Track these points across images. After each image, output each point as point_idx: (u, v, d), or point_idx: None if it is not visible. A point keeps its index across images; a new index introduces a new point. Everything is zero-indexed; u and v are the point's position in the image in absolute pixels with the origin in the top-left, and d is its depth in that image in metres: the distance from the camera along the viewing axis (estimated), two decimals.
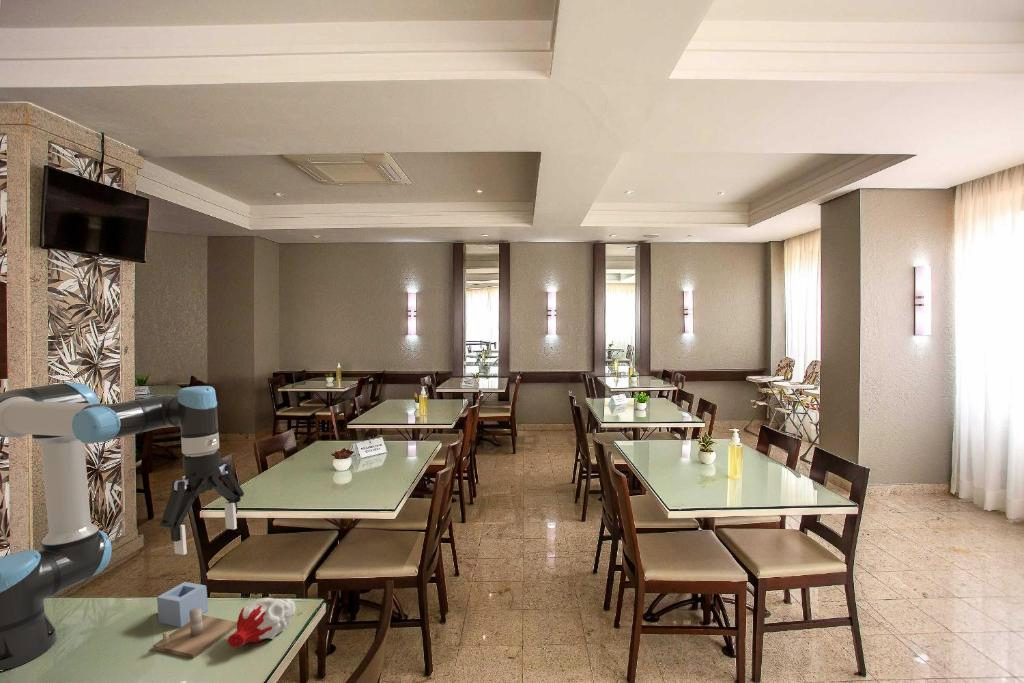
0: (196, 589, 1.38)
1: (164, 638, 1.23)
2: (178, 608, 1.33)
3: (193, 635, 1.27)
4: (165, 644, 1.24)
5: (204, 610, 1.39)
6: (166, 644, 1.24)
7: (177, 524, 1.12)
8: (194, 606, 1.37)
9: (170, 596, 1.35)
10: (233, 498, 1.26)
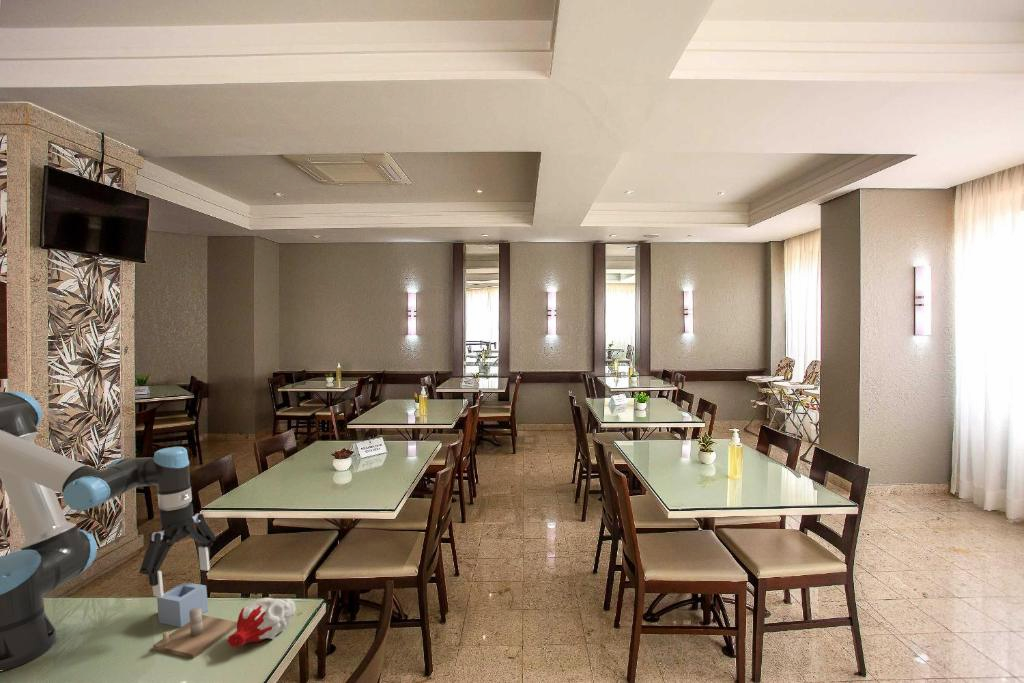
0: (196, 589, 1.38)
1: (164, 638, 1.23)
2: (178, 608, 1.33)
3: (193, 635, 1.27)
4: (165, 644, 1.24)
5: (204, 610, 1.39)
6: (166, 644, 1.24)
7: (154, 571, 1.29)
8: (194, 606, 1.37)
9: (170, 596, 1.35)
10: (206, 543, 1.43)
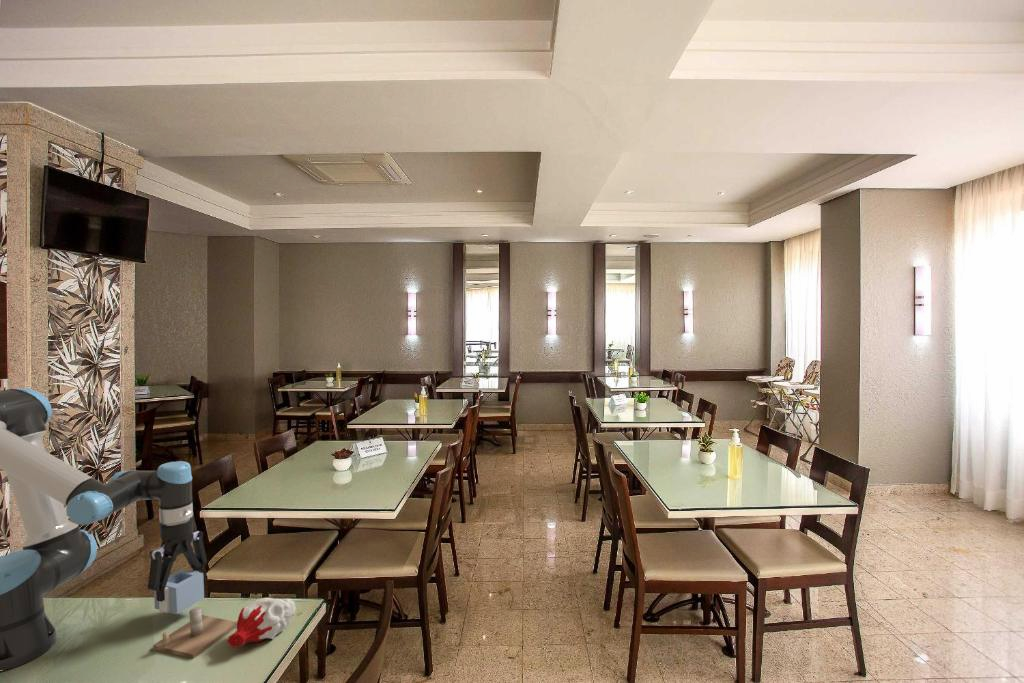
0: (193, 576, 1.38)
1: (164, 638, 1.23)
2: (175, 595, 1.33)
3: (193, 635, 1.27)
4: (165, 644, 1.24)
5: (200, 598, 1.39)
6: (166, 644, 1.24)
7: (162, 587, 1.32)
8: (190, 593, 1.36)
9: (167, 582, 1.35)
10: (197, 566, 1.41)
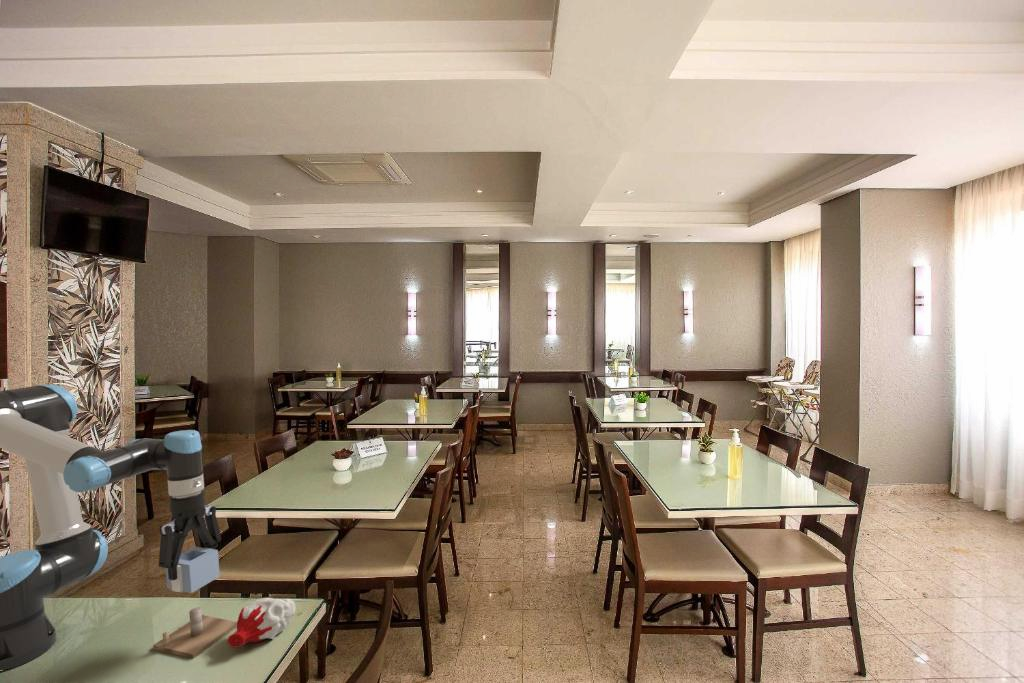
0: (207, 553, 1.28)
1: (164, 638, 1.23)
2: (188, 572, 1.23)
3: (193, 635, 1.27)
4: (165, 644, 1.24)
5: (216, 576, 1.29)
6: (166, 644, 1.24)
7: (174, 565, 1.22)
8: (205, 571, 1.26)
9: (179, 560, 1.25)
10: (211, 543, 1.31)
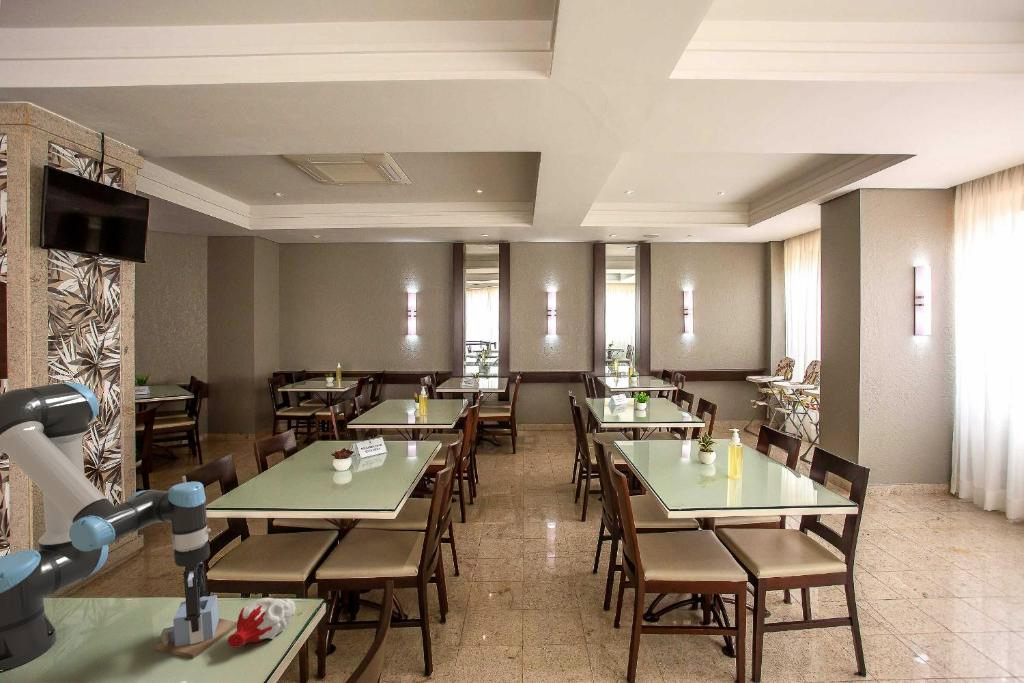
0: (211, 600, 1.31)
1: (164, 638, 1.23)
2: (209, 619, 1.26)
3: None
4: (165, 644, 1.24)
5: (217, 620, 1.33)
6: (166, 644, 1.24)
7: (199, 614, 1.23)
8: (215, 616, 1.30)
9: None
10: (204, 591, 1.33)
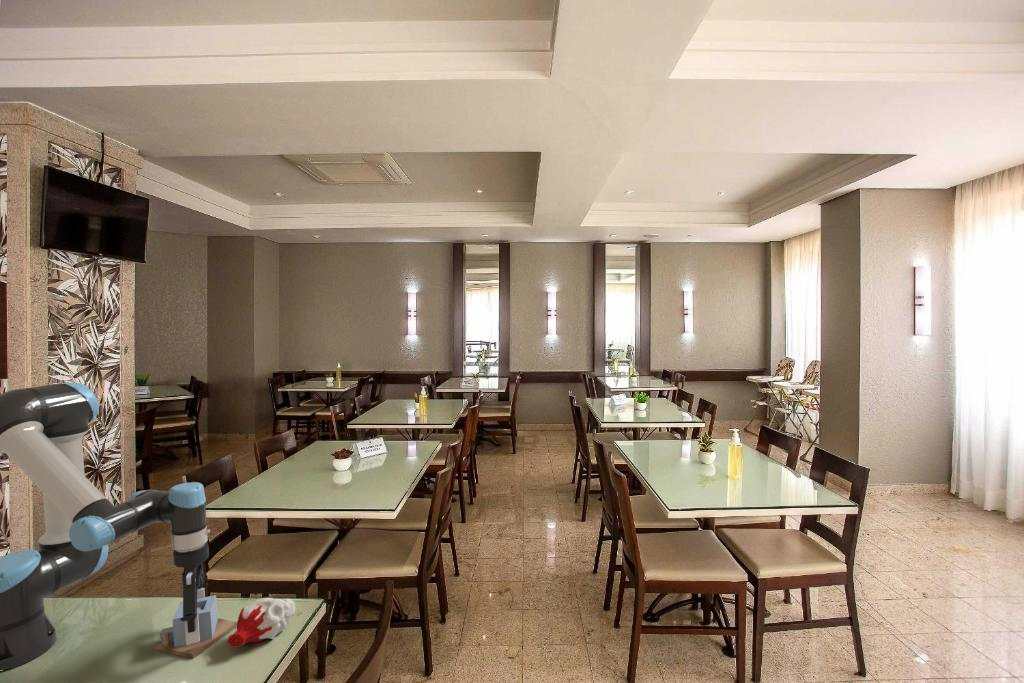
0: (210, 600, 1.31)
1: (164, 638, 1.23)
2: (208, 619, 1.26)
3: None
4: (165, 644, 1.24)
5: (216, 621, 1.33)
6: (166, 644, 1.24)
7: (196, 614, 1.21)
8: (214, 616, 1.30)
9: None
10: (202, 584, 1.35)
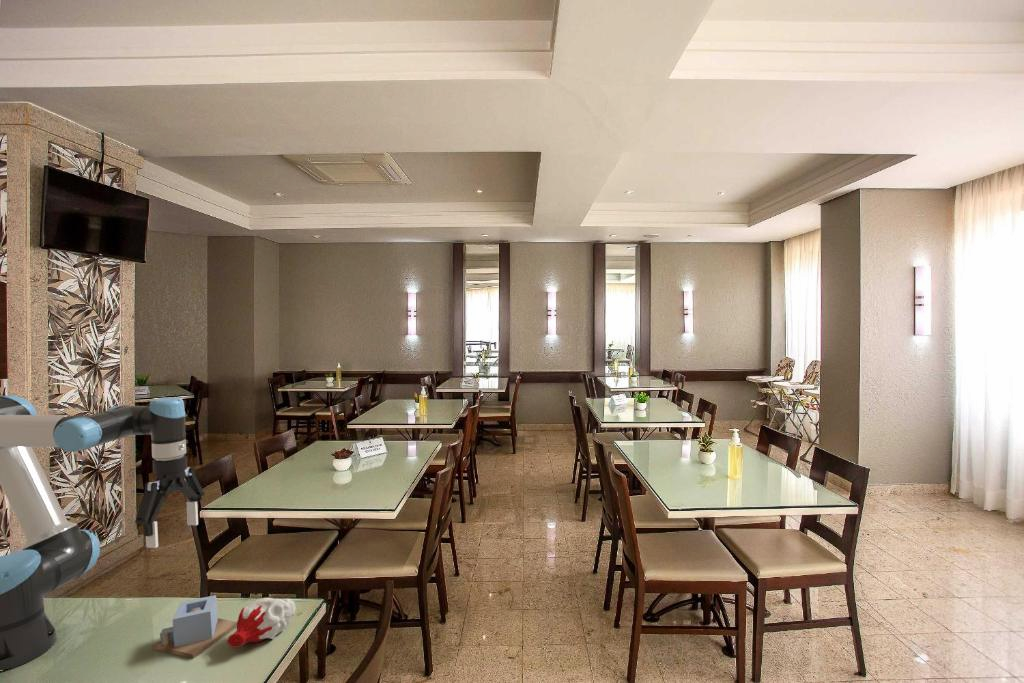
0: (210, 600, 1.31)
1: (164, 638, 1.23)
2: (208, 619, 1.26)
3: None
4: (165, 644, 1.24)
5: (216, 621, 1.33)
6: (166, 644, 1.24)
7: (151, 521, 1.26)
8: (214, 616, 1.30)
9: (189, 613, 1.25)
10: (195, 497, 1.41)
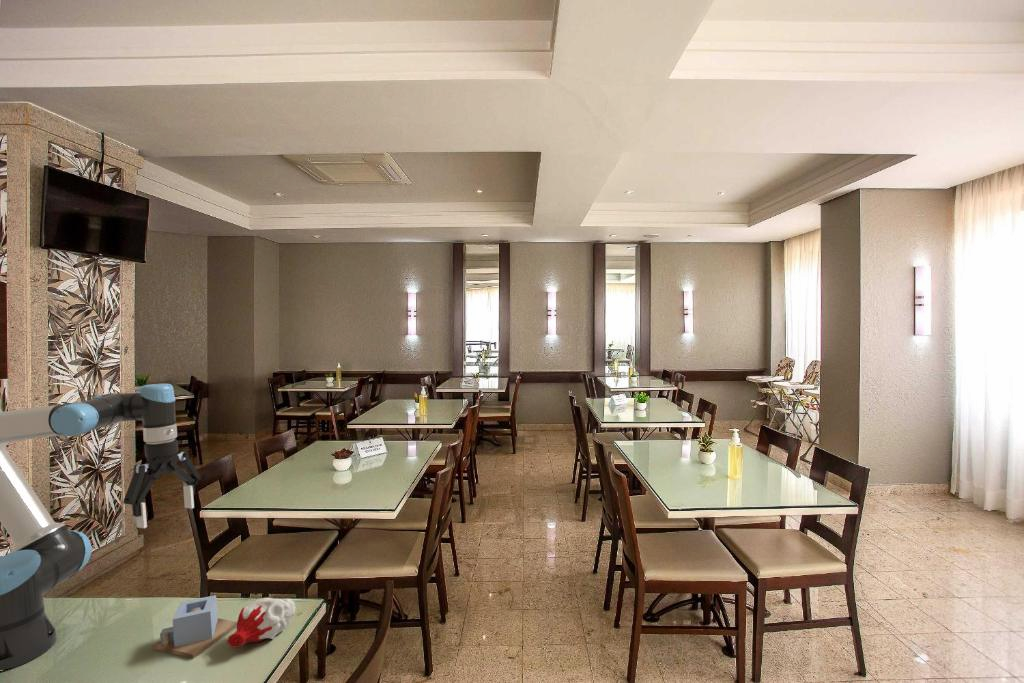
0: (210, 600, 1.31)
1: (164, 638, 1.23)
2: (208, 619, 1.26)
3: None
4: (165, 644, 1.24)
5: (216, 621, 1.33)
6: (166, 644, 1.24)
7: (138, 502, 1.30)
8: (214, 616, 1.30)
9: (189, 613, 1.25)
10: (190, 481, 1.45)
